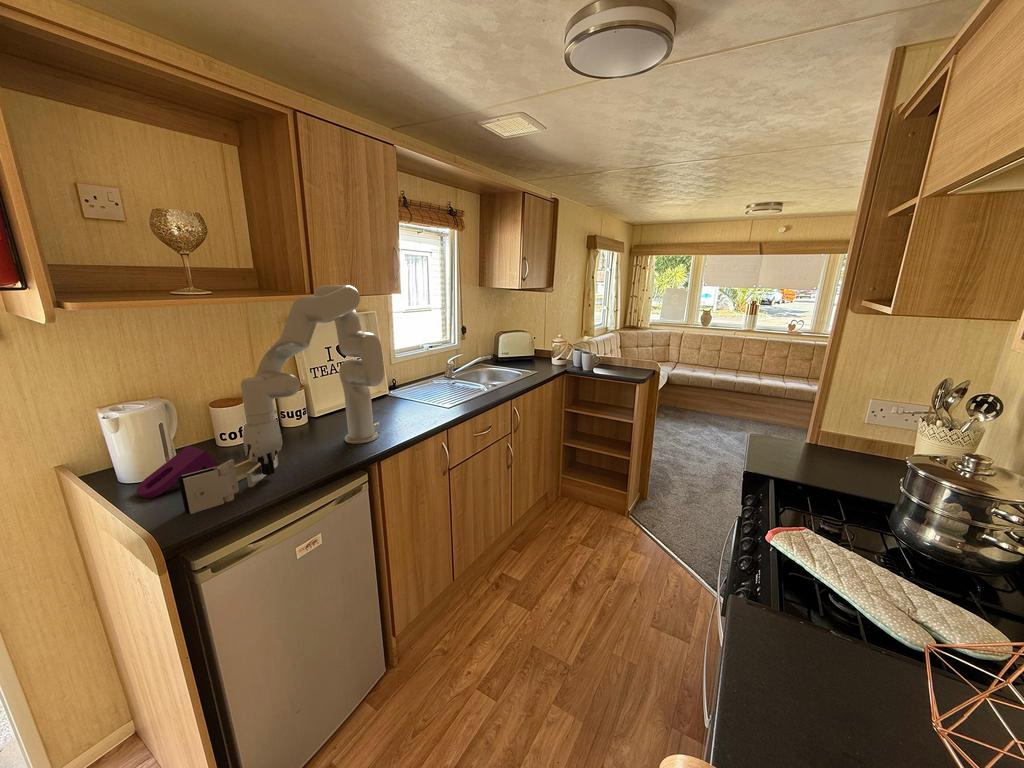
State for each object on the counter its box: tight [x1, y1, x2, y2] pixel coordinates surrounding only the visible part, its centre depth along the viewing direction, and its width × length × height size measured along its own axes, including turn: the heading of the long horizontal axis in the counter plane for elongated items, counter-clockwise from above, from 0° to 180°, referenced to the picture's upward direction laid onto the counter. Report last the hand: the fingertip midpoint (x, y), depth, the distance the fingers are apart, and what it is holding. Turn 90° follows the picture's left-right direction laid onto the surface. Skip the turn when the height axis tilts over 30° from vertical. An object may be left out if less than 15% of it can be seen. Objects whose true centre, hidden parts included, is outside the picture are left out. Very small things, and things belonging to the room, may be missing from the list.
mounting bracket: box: [136, 445, 218, 499], centre depth 125 cm, size 9×8×18 cm
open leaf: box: [246, 456, 279, 488], centre depth 129 cm, size 15×1×4 cm, turn 3°
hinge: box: [178, 459, 240, 515], centre depth 113 cm, size 14×5×10 cm, turn 149°
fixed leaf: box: [235, 453, 279, 482], centre depth 131 cm, size 18×3×5 cm, turn 162°
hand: (268, 473), depth 128 cm, fingers closed
